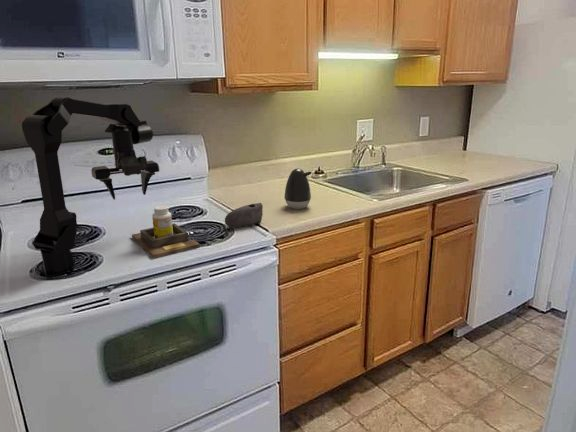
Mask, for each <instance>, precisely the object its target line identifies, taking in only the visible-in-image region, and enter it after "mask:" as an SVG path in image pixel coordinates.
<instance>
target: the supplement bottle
mask: <svg viewBox="0 0 576 432" xmlns="http://www.w3.org/2000/svg"><path fill="white" fill-rule="evenodd" d="M151 218H152V228H153V227H154V236H155V239H157V238H162V237H166V236H171V235H173V227H172V224H173V219H172V218H173V217H172V213H171V212H170V211H169V207H168V206H167V205H157V206H155V207H154V212H153V213H152V216H151Z"/></svg>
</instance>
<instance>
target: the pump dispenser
mask: <svg viewBox="0 0 576 432" xmlns="http://www.w3.org/2000/svg"><path fill="white" fill-rule="evenodd" d="M310 175H312V171H307V172H305V171H304V170H303V169H301V168H295V169H293V170H292V171H291V172H290V173H289V175H288V178H287V181H286V184H285V187H284V196H283V197H284V200H285V203H286V204H287V206H288V207H289V208H290V209H294V210H303V209H304V208H307V207H308V206H309V204H310V201H311V200H312V193H311V191H312V190H311V186H310V182H309V179H308V176H310Z"/></svg>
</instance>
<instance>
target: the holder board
mask: <svg viewBox="0 0 576 432" xmlns="http://www.w3.org/2000/svg"><path fill="white" fill-rule="evenodd" d="M172 227H173V235H171V236H166V237H162V238H157V239H155V236H154V227H153V226H152V227H149V228H144V229H141V230H139V232H138V233H133V234H131V239H133V240H134V241H135V242H136V243H137V244H138V245H139V246H140V247H141V248H143V249H144V251H145V252H147V254H149V256H151V257H152V258H153V259H156V258H157V259H158V258H161V257H164V256H170V255H173V254H177V252H178V253H182V252H185V250H186V251H189V249H190V250H193V248H194V249H197V248H196V247H198V248H200V245H201V244H200V243H199V242H198V241H196V240H195V239H193V240H191V239H190V240H189V237H190V236H189V232H187V231H186V230H184V229H183V228H181V227H180V226H179V225H177V224H176V223H173V222H172ZM174 233H175V235H174ZM188 236H189V237H188ZM181 251H182V252H181ZM169 254H170V255H169Z"/></svg>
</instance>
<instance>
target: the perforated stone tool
mask: <svg viewBox="0 0 576 432" xmlns="http://www.w3.org/2000/svg"><path fill="white" fill-rule="evenodd" d="M263 207H264V206H263V204H262V202H258V203H251V204H247V205H243V206H240V207H237V208H235V209H233V210H231V211H230V212H228V213H227V214H226V216H225V218H224V224H225V226H227V227H229V228H240V227H242V228H243V227H248V226H252V225H253V226H254V225H255V224H259V223H261V222H262V220H263V219H262V218H263V215H264V214H263V211H264V210H263Z"/></svg>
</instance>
